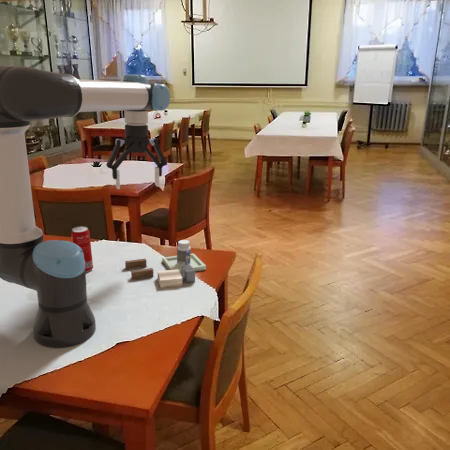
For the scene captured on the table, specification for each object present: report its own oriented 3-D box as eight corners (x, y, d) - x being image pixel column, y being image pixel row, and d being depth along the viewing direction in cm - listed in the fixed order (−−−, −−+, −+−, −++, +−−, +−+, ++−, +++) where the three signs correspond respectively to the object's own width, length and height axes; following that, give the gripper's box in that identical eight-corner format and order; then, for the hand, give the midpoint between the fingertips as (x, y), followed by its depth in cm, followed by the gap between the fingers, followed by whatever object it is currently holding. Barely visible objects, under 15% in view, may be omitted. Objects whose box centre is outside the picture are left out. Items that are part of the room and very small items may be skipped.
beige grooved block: (182, 286, 145) (182, 278, 144) (160, 288, 143) (160, 280, 142) (178, 277, 151) (178, 269, 150) (157, 279, 149) (157, 271, 148)
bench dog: (195, 281, 148) (195, 270, 147) (186, 283, 147) (186, 271, 145) (189, 275, 152) (189, 264, 151) (181, 277, 151) (181, 266, 150)
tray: (206, 269, 157) (206, 265, 157) (173, 274, 152) (173, 270, 152) (193, 257, 167) (193, 253, 167) (162, 261, 163) (162, 257, 162)
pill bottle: (188, 267, 157) (188, 244, 154) (175, 265, 158) (175, 243, 155) (191, 262, 162) (192, 240, 159) (179, 260, 162) (179, 238, 160)
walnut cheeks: (153, 276, 151) (153, 269, 150) (132, 279, 148) (132, 272, 147) (145, 265, 159) (145, 258, 158) (125, 267, 156) (125, 261, 155)
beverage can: (95, 266, 156) (93, 225, 151) (88, 274, 150) (85, 232, 145) (79, 265, 157) (76, 224, 152) (71, 273, 150) (67, 230, 146)
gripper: (169, 122, 157) (169, 182, 164) (95, 123, 147) (98, 186, 154) (176, 124, 151) (176, 187, 157) (99, 125, 140) (102, 192, 147)
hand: (137, 187), depth 155 cm, fingers open, 13 cm apart
